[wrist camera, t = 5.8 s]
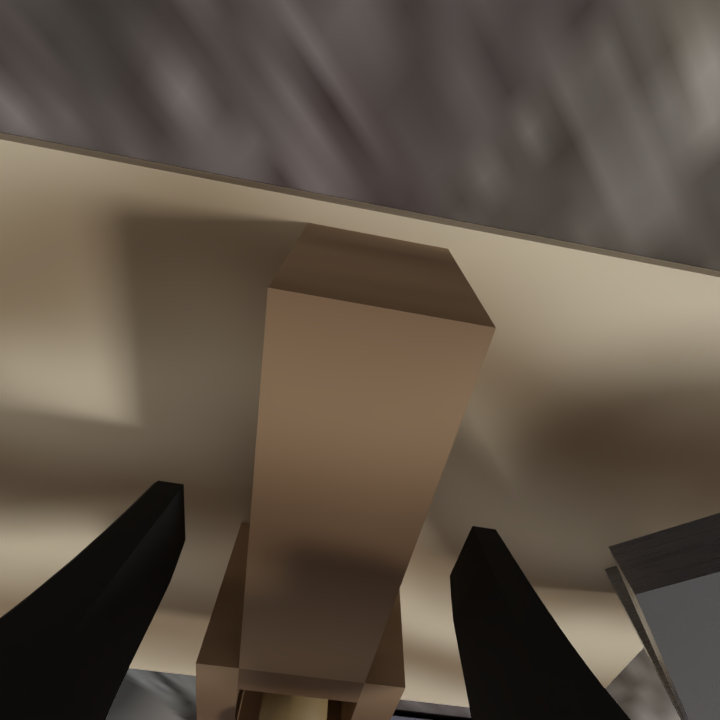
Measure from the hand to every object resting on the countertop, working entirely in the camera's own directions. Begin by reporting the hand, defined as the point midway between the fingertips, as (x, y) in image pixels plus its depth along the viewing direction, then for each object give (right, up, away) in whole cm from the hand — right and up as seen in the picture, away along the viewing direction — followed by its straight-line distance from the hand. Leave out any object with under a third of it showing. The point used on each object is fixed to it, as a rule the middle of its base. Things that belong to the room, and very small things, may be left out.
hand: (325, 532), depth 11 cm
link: (0, +1, +2) cm, 2 cm away
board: (0, -1, +4) cm, 4 cm away
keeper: (+8, +1, +2) cm, 8 cm away
